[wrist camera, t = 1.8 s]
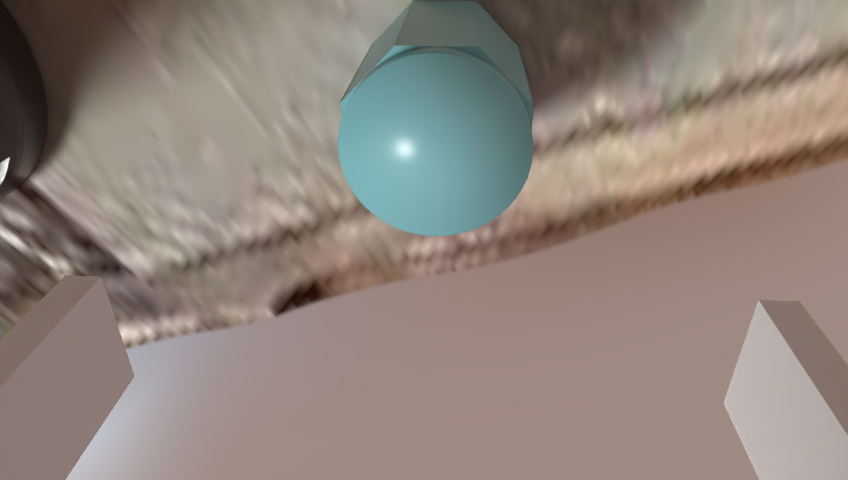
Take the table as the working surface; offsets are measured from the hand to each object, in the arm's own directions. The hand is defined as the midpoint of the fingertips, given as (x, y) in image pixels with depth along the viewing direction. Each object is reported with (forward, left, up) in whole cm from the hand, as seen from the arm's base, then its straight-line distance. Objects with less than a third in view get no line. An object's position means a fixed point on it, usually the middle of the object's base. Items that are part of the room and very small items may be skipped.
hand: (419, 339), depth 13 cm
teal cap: (0, 0, -19) cm, 19 cm away
